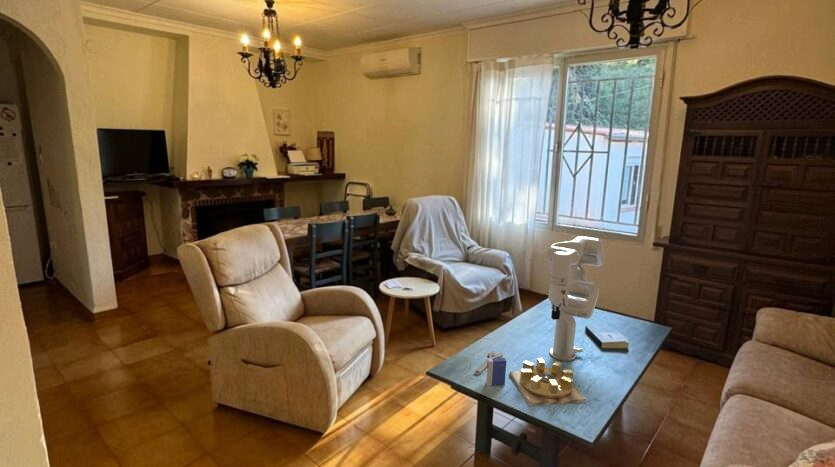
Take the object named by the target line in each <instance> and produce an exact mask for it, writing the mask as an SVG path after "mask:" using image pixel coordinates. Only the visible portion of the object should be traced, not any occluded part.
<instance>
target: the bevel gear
mask: <svg viewBox="0 0 835 467" xmlns="http://www.w3.org/2000/svg"><path fill="white" fill-rule="evenodd" d="M520 371H521V374H520V384H521V385H522V387H523V388H524V389H525V390H527V391H528V392H530V393H531V394H534V395H536V396H539V397H542V398H548V399H561V398H565V397H567V396H569V395H570V394H571V393H572V390H573V385H574V383H573V382H574V381H573V379H574V371H573V370H572V369H562V362H561V361H558V360H556V361H554V362H553V363H552V366H551V367H550V366H546V362H545V360H544V358H543V357H537V358H536V365H535V363H534V362H531V361H528V360H524V361H523V362H522V368H520Z"/></svg>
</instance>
